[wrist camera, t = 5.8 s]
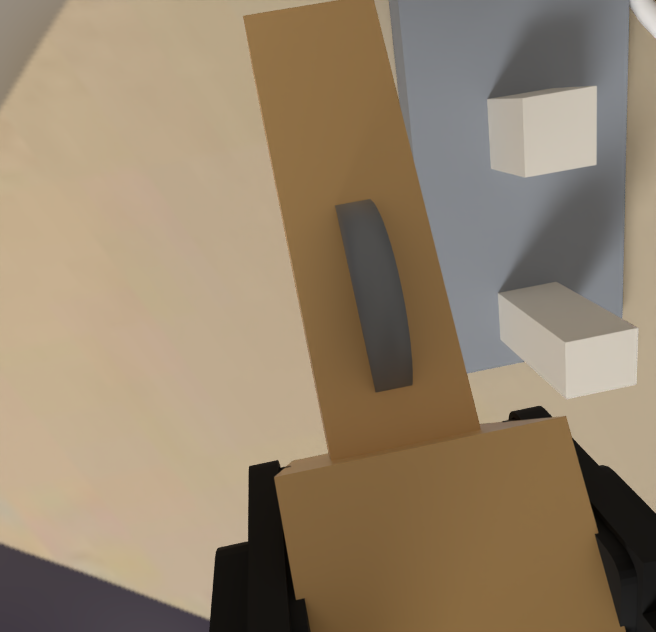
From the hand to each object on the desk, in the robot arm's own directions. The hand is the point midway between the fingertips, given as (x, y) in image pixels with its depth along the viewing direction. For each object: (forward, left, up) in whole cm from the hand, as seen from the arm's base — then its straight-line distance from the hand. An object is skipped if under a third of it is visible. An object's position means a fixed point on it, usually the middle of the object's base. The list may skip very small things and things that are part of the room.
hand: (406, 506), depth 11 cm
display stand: (-10, -4, -19) cm, 22 cm away
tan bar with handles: (0, +2, -2) cm, 3 cm away
